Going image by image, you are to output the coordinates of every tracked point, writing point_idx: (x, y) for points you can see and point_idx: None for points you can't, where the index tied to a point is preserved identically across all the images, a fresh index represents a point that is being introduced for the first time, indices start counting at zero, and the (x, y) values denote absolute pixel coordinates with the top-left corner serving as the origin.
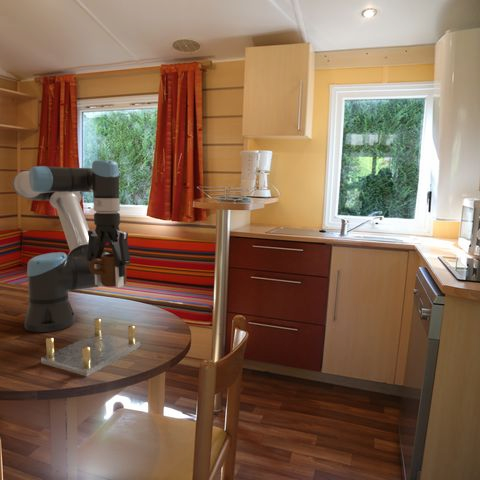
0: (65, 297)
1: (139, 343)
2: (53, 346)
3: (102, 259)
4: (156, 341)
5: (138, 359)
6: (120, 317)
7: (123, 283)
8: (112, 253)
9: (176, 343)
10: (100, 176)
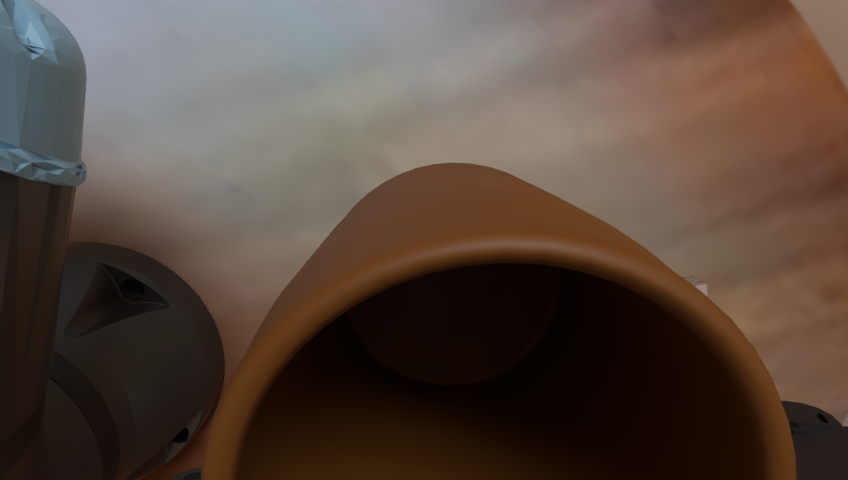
0: (86, 399)
1: (703, 285)
2: None
3: None
4: (717, 186)
5: (768, 358)
6: (288, 55)
7: None
8: (261, 385)
9: (818, 145)
10: None
